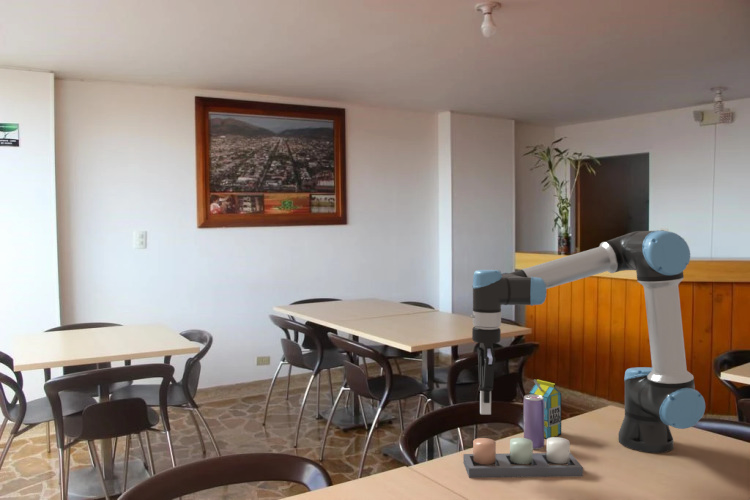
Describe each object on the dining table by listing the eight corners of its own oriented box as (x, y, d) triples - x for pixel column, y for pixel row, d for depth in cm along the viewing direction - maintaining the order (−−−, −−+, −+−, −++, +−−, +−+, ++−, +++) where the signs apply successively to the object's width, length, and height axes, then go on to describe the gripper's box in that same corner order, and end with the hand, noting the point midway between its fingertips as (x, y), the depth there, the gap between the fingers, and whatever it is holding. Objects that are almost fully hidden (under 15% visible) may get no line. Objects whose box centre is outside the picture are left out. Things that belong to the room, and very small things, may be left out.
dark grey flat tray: (570, 461, 164) (570, 452, 164) (582, 476, 154) (582, 467, 154) (463, 462, 164) (463, 453, 164) (469, 477, 154) (469, 468, 154)
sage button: (529, 455, 162) (529, 437, 162) (535, 463, 156) (535, 445, 156) (507, 455, 162) (507, 437, 162) (512, 464, 156) (512, 445, 156)
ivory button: (565, 454, 162) (565, 437, 162) (572, 463, 156) (572, 445, 156) (543, 455, 162) (543, 437, 162) (550, 463, 156) (550, 445, 156)
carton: (527, 434, 187) (526, 377, 186) (542, 429, 191) (542, 374, 191) (546, 440, 181) (546, 382, 180) (561, 435, 186) (561, 378, 185)
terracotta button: (493, 455, 162) (493, 437, 162) (497, 464, 156) (497, 445, 156) (471, 455, 162) (471, 438, 162) (475, 464, 156) (475, 446, 156)
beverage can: (545, 450, 173) (544, 400, 172) (524, 449, 174) (524, 399, 173) (543, 443, 179) (543, 394, 178) (523, 442, 180) (523, 393, 179)
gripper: (468, 323, 165) (467, 406, 165) (476, 330, 152) (475, 421, 152) (495, 323, 165) (494, 406, 165) (505, 331, 152) (504, 421, 152)
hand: (485, 413), depth 159 cm, fingers closed
